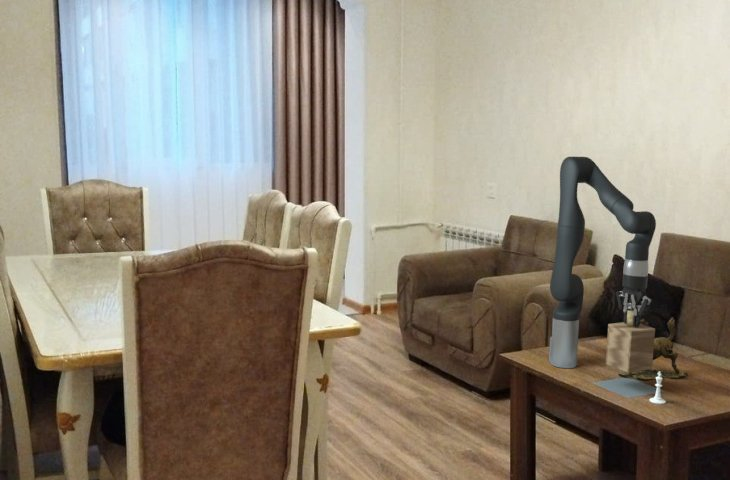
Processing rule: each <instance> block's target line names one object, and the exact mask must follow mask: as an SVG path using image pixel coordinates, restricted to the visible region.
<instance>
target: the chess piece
mask: <svg viewBox="0 0 730 480" xmlns="http://www.w3.org/2000/svg"><path fill="white" fill-rule="evenodd" d="M660 373H661V372H660V371H659V373H658V377H656V383H654V387H656V388H657V389H656V393H654V394H655V395H654V396H653V397H650V398H649V400H648V401H649V402H650V403H653V404H656V405H664V404H666V403H667V402H666V399H664V398H662V395H661V394H662V393H661V392H660V390H661V387H663V384H662V381H663V379H664V378H662V377H660V376H661V374H660Z"/></svg>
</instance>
